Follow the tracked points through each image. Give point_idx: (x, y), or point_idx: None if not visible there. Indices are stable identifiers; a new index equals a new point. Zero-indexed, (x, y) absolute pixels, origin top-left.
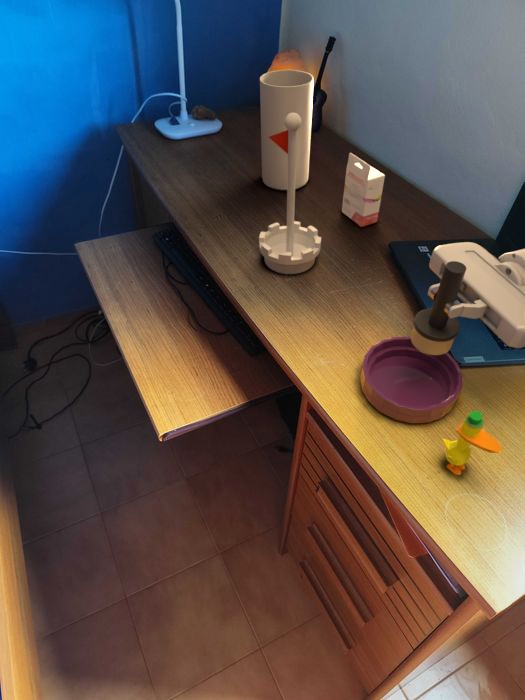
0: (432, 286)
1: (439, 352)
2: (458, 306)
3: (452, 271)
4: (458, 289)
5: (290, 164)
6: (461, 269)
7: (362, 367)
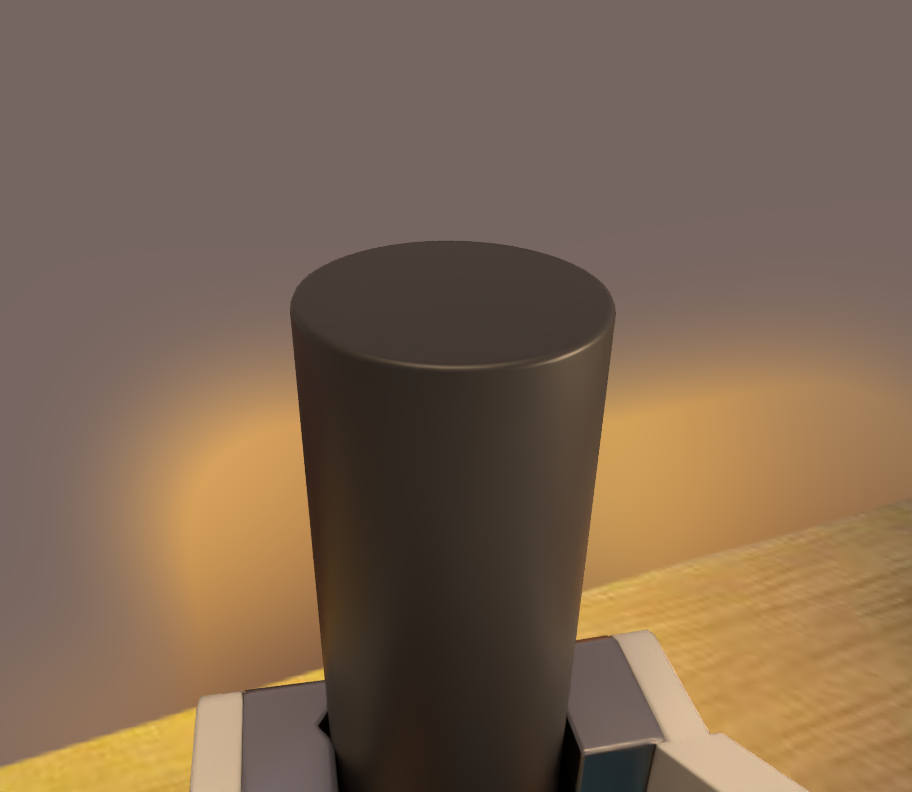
0: (636, 635)
1: None
2: (209, 755)
3: (358, 257)
4: (336, 639)
5: None
6: (366, 314)
7: None
